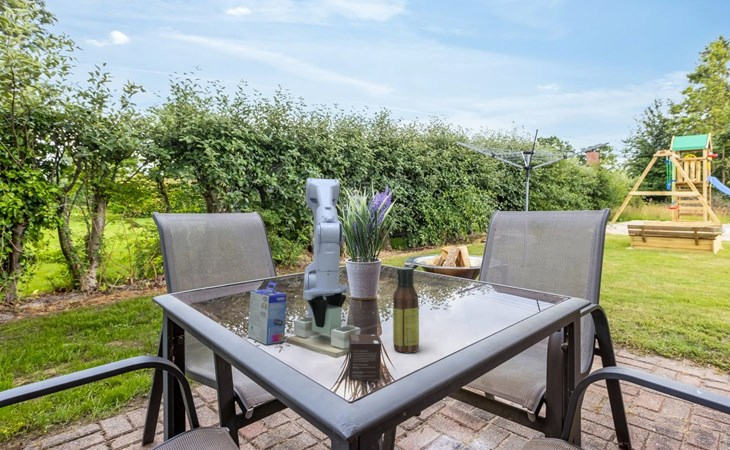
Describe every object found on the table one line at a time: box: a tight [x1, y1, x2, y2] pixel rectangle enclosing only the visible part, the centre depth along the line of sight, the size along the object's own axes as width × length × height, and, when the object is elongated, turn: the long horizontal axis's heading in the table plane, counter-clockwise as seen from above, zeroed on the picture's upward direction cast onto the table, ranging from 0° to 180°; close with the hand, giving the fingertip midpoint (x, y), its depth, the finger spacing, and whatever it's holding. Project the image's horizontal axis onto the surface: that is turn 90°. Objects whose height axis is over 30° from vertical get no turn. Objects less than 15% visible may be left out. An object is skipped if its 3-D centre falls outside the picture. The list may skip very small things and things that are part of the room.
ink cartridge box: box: [247, 281, 287, 346], centre depth 97 cm, size 10×6×14 cm, turn 44°
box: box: [347, 333, 382, 382], centre depth 76 cm, size 6×6×7 cm
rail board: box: [285, 317, 361, 359], centre depth 95 cm, size 11×17×5 cm, turn 52°
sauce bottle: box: [392, 266, 420, 353], centre depth 92 cm, size 7×6×20 cm
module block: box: [312, 304, 342, 335], centre depth 95 cm, size 4×6×6 cm, turn 52°
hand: (326, 325), depth 95 cm, fingers closed on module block, 4 cm apart
